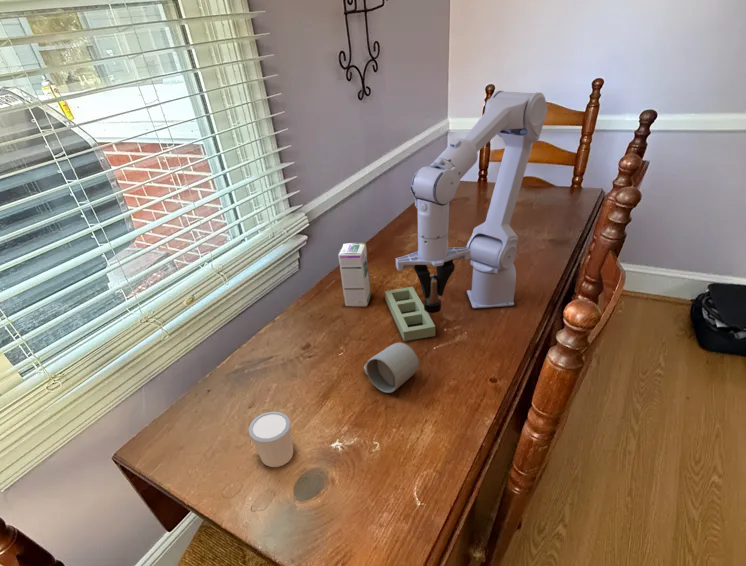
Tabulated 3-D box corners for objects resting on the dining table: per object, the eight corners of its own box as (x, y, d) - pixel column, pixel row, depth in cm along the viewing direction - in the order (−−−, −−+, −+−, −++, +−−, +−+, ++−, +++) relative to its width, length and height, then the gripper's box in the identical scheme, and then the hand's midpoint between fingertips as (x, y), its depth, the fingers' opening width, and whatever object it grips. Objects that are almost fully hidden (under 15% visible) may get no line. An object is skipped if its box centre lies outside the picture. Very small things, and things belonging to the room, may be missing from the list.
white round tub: (258, 441, 84) (249, 413, 80) (296, 436, 84) (290, 408, 80) (256, 472, 79) (246, 444, 75) (297, 467, 79) (290, 438, 75)
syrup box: (367, 307, 117) (363, 252, 108) (344, 306, 118) (337, 253, 110) (371, 295, 121) (366, 242, 113) (348, 294, 123) (342, 242, 114)
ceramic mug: (422, 376, 94) (421, 345, 89) (397, 399, 89) (395, 367, 85) (380, 358, 100) (377, 328, 96) (355, 379, 96) (351, 348, 91)
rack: (412, 295, 119) (412, 286, 118) (435, 335, 104) (435, 326, 103) (385, 299, 119) (384, 291, 117) (403, 341, 104) (403, 332, 102)
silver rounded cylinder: (439, 303, 102) (440, 270, 97) (441, 312, 99) (442, 278, 94) (423, 304, 102) (423, 271, 97) (424, 313, 99) (424, 279, 94)
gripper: (400, 247, 87) (403, 310, 95) (477, 235, 87) (473, 298, 95) (392, 232, 92) (394, 293, 100) (464, 221, 93) (461, 282, 101)
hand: (432, 294), depth 98 cm, fingers closed on silver rounded cylinder, 2 cm apart
